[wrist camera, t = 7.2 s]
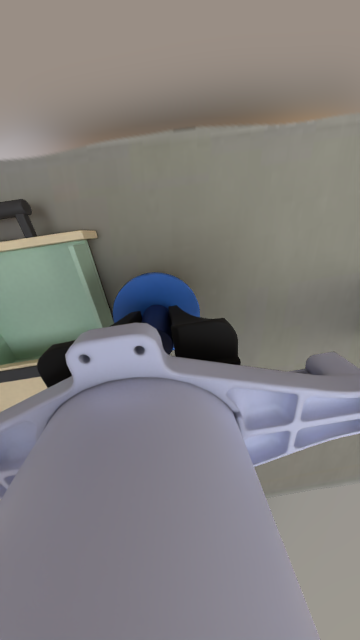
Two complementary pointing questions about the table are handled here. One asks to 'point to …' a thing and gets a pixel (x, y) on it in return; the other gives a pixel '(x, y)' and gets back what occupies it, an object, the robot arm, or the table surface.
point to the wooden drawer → (46, 289)
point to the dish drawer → (19, 382)
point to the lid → (156, 302)
